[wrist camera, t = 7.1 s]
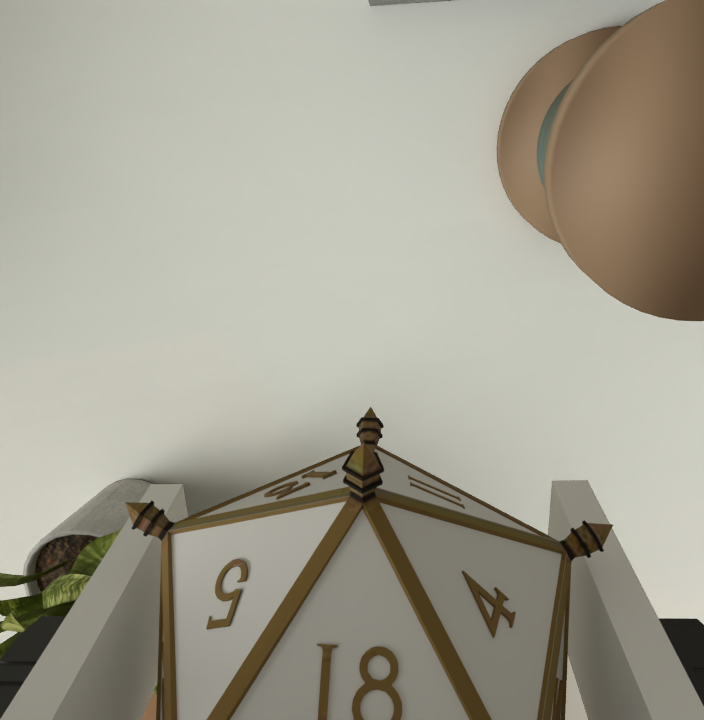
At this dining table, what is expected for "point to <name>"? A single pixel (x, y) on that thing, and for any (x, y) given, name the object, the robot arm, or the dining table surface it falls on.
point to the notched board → (398, 1)
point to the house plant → (68, 558)
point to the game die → (362, 600)
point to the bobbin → (618, 156)
